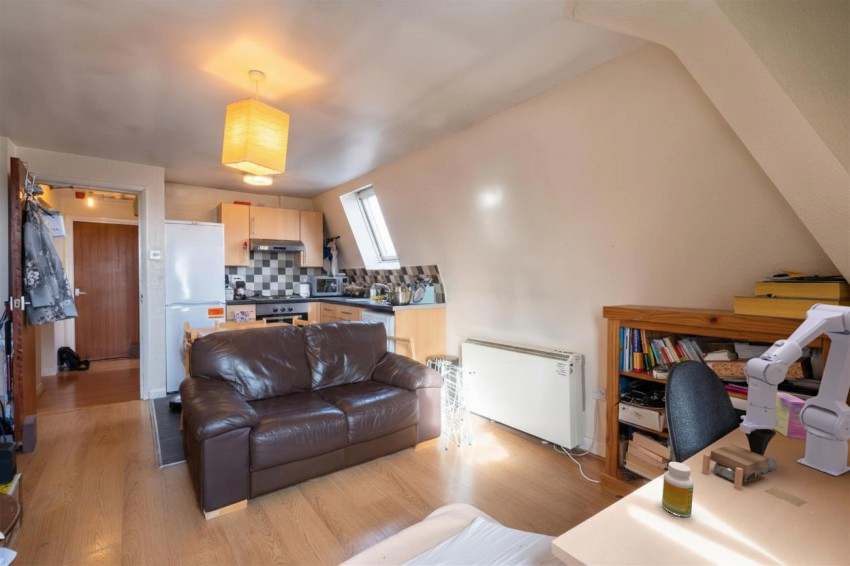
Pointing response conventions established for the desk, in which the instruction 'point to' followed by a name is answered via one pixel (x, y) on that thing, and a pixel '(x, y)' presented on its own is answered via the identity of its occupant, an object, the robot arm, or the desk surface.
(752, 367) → the robot arm
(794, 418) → the box
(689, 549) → the desk surface
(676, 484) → the supplement bottle
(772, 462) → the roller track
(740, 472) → the stop posts
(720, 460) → the slab
